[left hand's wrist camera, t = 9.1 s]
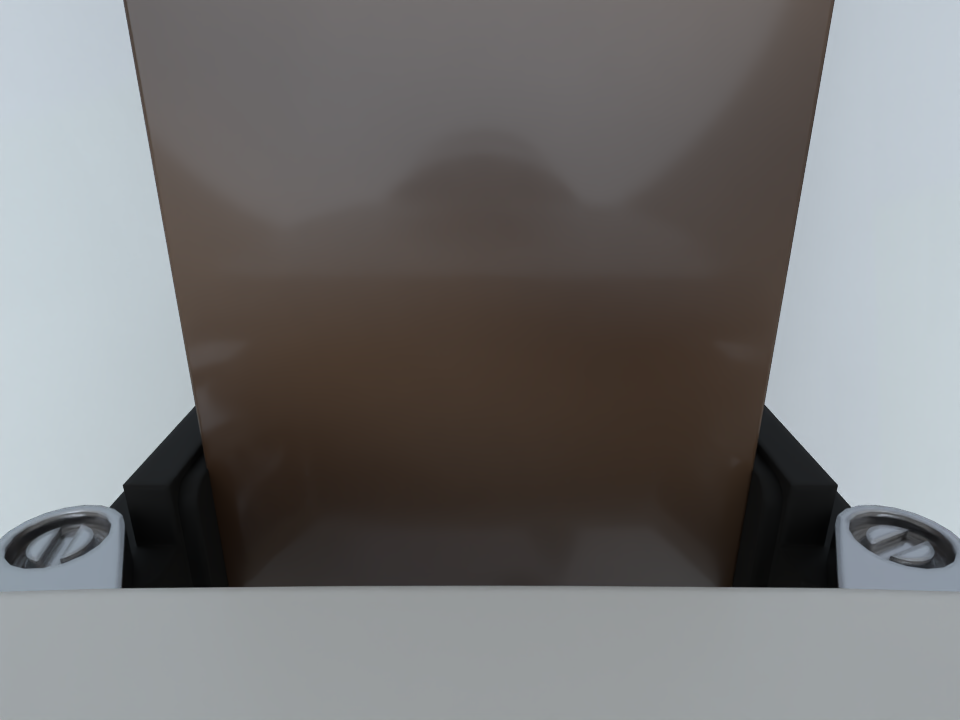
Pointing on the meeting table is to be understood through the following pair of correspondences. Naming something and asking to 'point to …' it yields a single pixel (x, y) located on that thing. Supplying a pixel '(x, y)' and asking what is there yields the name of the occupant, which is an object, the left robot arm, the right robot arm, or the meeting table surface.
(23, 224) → the meeting table surface
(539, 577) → the cabinet
